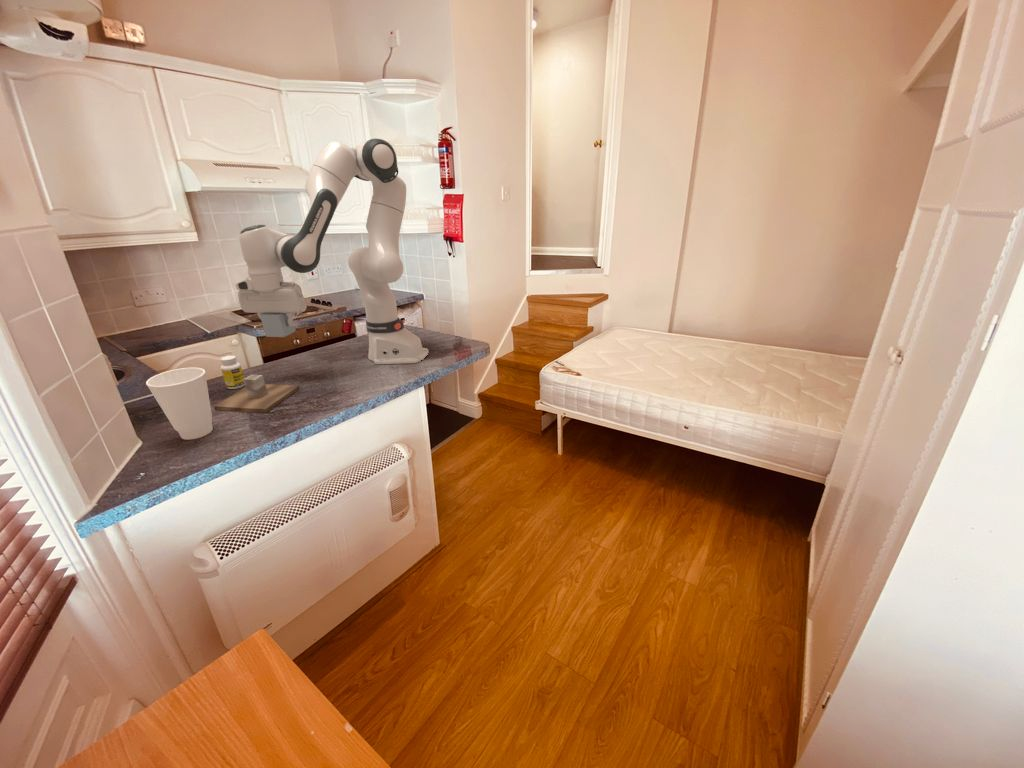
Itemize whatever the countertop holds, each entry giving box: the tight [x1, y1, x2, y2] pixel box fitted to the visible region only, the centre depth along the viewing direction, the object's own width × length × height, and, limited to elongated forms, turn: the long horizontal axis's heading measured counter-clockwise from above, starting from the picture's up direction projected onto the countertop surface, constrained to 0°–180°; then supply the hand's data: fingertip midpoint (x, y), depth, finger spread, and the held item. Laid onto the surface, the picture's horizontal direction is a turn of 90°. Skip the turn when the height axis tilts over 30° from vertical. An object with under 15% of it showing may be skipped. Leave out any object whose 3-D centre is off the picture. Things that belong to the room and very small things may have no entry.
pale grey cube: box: [260, 313, 297, 338], centre depth 134 cm, size 6×6×7 cm
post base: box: [213, 374, 300, 414], centre depth 126 cm, size 16×16×7 cm
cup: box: [145, 366, 214, 441], centre depth 107 cm, size 12×12×16 cm
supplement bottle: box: [220, 355, 246, 390], centre depth 135 cm, size 5×5×10 cm
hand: (279, 325), depth 135 cm, fingers closed on pale grey cube, 6 cm apart
